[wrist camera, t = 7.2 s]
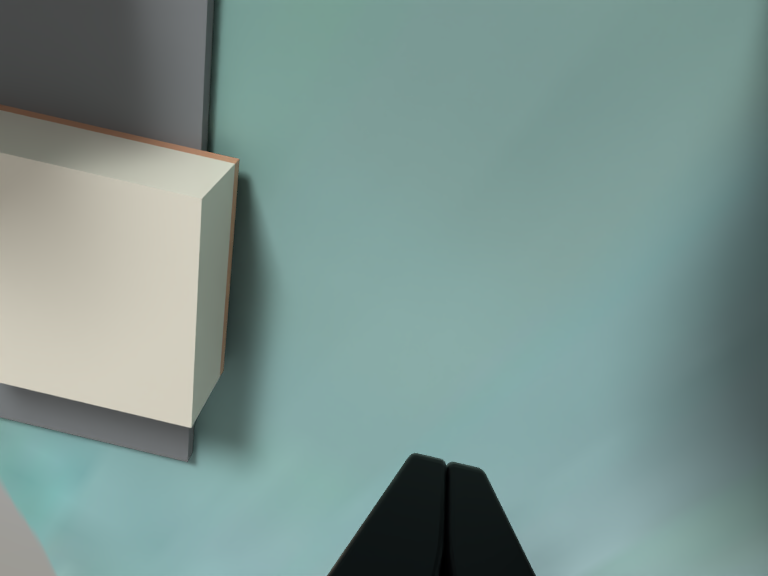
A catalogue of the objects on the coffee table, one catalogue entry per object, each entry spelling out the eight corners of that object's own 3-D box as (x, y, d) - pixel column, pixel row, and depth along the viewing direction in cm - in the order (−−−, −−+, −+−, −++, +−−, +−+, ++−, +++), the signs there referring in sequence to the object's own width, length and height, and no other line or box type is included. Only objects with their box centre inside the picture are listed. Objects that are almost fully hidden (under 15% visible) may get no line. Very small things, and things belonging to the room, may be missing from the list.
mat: (215, -38, 17) (208, -36, 17) (192, 452, 27) (187, 461, 26) (-170, -123, 18) (-187, -124, 17) (-60, 392, 27) (-69, 400, 27)
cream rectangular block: (201, 198, 17) (-138, 120, 17) (191, 428, 21) (-83, 363, 21) (239, 158, 20) (-56, 91, 20) (223, 370, 24) (-21, 312, 24)
